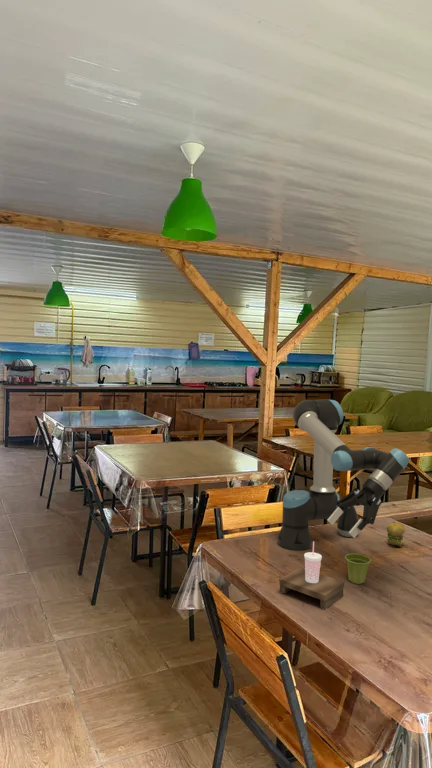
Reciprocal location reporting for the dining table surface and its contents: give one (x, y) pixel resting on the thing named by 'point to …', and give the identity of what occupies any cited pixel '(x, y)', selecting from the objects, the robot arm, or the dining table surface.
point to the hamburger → (395, 533)
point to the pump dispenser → (347, 521)
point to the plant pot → (357, 567)
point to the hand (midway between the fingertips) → (340, 528)
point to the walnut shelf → (313, 587)
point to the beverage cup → (312, 566)
